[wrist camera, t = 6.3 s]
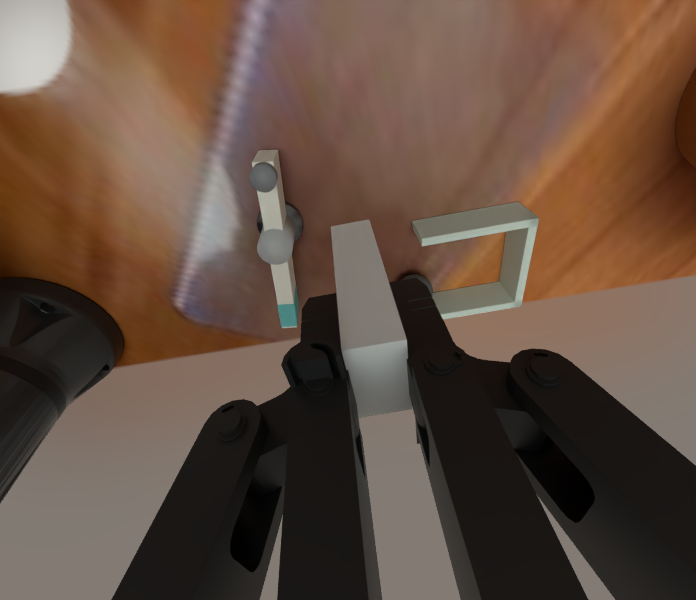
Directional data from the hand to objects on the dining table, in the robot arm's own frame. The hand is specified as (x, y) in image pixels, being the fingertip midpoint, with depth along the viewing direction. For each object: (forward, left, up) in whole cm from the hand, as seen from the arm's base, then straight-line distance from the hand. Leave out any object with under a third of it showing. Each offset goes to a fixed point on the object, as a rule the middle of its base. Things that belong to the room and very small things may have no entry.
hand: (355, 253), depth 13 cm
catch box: (+12, -14, -20) cm, 27 cm away
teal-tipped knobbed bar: (-7, -8, -19) cm, 21 cm away
